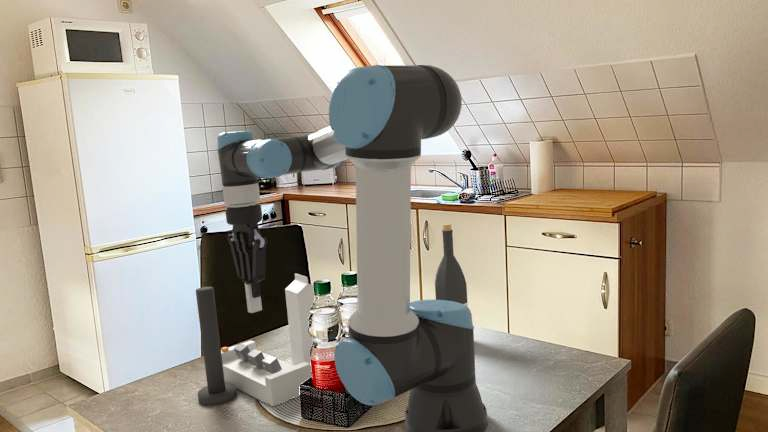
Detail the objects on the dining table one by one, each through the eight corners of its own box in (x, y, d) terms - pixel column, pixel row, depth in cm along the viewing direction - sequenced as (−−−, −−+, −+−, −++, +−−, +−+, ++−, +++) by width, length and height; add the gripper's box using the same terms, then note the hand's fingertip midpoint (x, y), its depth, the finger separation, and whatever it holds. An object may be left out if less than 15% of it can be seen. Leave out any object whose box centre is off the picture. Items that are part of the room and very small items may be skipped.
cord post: (243, 395, 137) (231, 287, 133) (209, 409, 132) (195, 296, 128) (225, 385, 143) (212, 281, 139) (191, 398, 138) (178, 290, 134)
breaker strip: (312, 390, 137) (309, 361, 136) (273, 407, 131) (270, 376, 130) (253, 363, 155) (250, 337, 154) (216, 377, 148) (212, 350, 147)
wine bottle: (433, 347, 157) (425, 227, 152) (443, 336, 164) (436, 221, 159) (465, 350, 153) (458, 227, 149) (474, 338, 161) (467, 221, 156)
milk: (305, 372, 147) (295, 280, 144) (292, 365, 152) (282, 275, 148) (327, 365, 151) (318, 274, 147) (314, 358, 156) (305, 270, 152)
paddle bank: (287, 373, 136) (280, 359, 135) (280, 379, 135) (273, 365, 134) (243, 354, 149) (237, 341, 148) (236, 359, 148) (230, 346, 147)
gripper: (274, 203, 134) (286, 311, 138) (242, 200, 143) (254, 301, 147) (243, 208, 129) (256, 321, 133) (212, 205, 139) (224, 310, 142)
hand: (255, 310), depth 140 cm, fingers closed
